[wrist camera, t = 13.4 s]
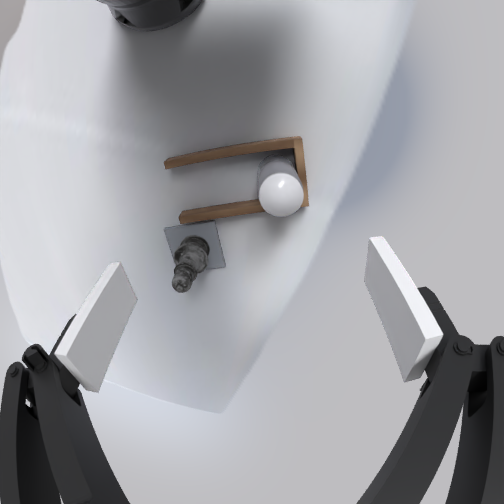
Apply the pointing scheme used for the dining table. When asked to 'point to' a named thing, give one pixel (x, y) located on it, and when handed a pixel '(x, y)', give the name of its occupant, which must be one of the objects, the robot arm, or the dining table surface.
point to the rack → (234, 150)
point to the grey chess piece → (189, 261)
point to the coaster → (202, 230)
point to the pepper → (279, 186)
